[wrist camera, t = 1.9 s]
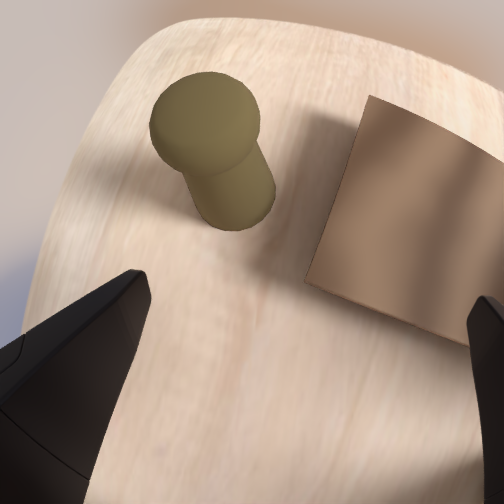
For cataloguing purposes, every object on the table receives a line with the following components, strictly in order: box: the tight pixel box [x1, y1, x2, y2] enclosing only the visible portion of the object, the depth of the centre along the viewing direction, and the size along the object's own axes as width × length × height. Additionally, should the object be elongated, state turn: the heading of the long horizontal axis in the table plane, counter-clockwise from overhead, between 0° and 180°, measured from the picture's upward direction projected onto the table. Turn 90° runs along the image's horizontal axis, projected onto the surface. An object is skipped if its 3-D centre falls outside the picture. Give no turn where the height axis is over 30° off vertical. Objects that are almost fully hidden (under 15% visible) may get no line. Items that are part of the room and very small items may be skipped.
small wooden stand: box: [304, 95, 504, 347], centre depth 19 cm, size 16×14×4 cm
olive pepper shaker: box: [149, 72, 276, 231], centre depth 17 cm, size 6×6×11 cm
